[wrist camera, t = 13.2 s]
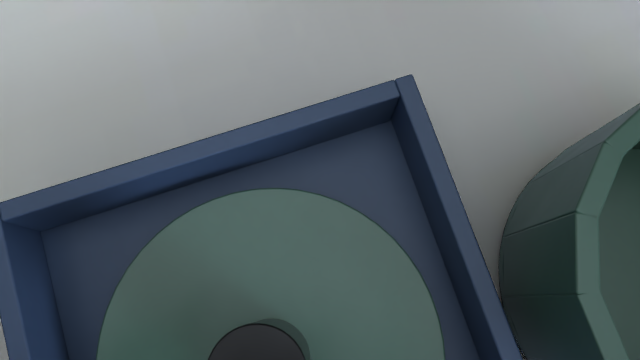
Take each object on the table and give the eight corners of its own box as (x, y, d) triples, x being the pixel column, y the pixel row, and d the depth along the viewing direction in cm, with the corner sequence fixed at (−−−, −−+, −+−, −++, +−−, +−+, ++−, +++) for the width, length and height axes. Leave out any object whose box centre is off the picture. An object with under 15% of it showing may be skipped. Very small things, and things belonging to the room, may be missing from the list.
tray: (124, 655, 17) (84, 728, 14) (27, 222, 20) (-24, 208, 17) (547, 497, 18) (592, 535, 15) (399, 105, 21) (412, 73, 18)
